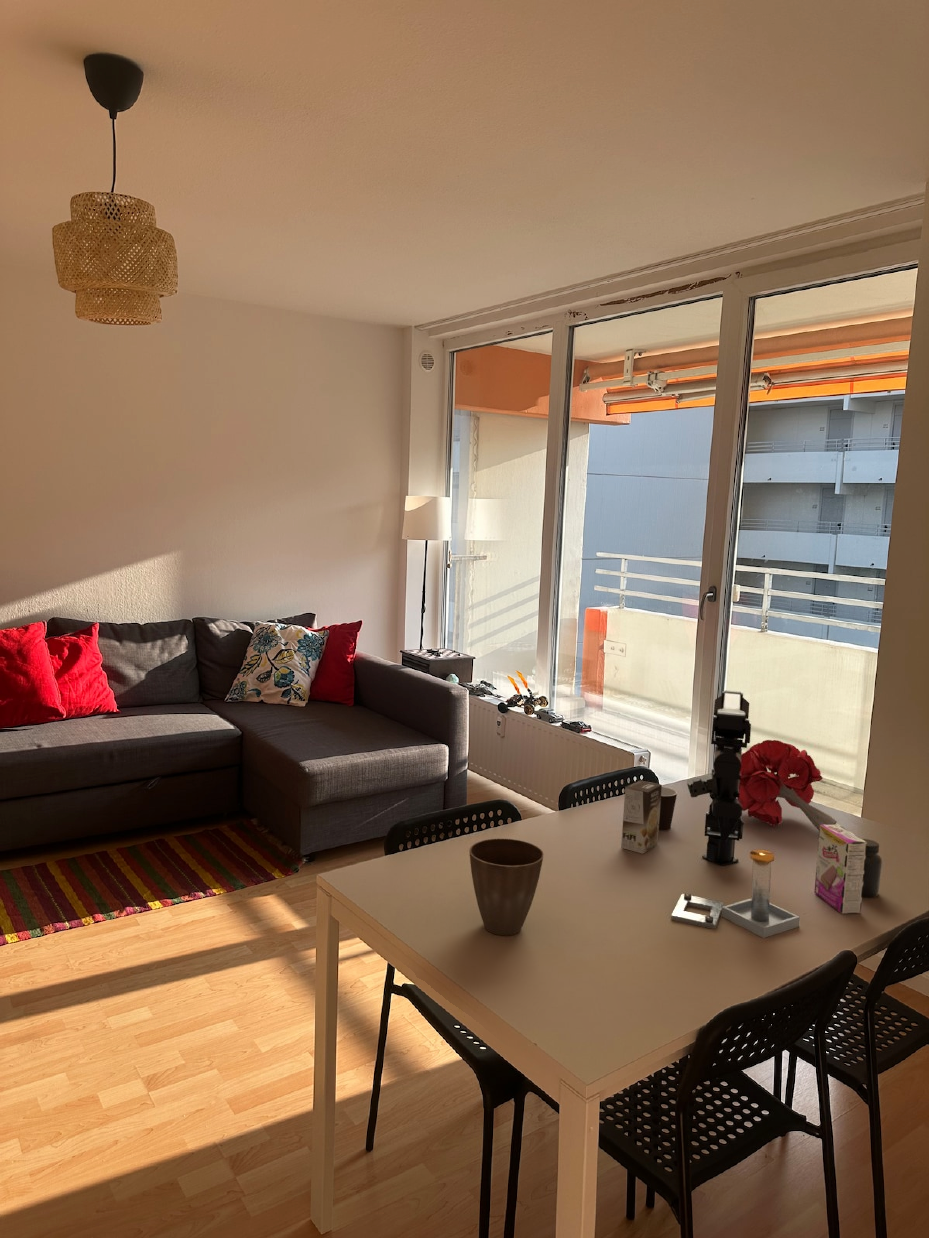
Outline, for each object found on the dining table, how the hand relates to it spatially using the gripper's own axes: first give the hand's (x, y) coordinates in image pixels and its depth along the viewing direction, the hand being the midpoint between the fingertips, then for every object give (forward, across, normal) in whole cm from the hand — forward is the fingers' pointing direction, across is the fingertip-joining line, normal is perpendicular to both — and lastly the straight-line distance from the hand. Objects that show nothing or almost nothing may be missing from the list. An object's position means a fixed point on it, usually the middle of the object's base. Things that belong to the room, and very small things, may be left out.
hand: (722, 833), depth 202 cm
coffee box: (+13, -21, -18) cm, 31 cm away
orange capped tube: (+12, +15, +8) cm, 21 cm away
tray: (+13, +15, +8) cm, 21 cm away
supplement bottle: (+13, -8, +32) cm, 36 cm away
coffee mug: (+13, -40, -14) cm, 44 cm away
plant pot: (+13, +34, -44) cm, 57 cm away
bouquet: (+13, -52, +19) cm, 57 cm away
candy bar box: (+13, 0, +25) cm, 29 cm away
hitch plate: (+13, +15, -5) cm, 20 cm away
